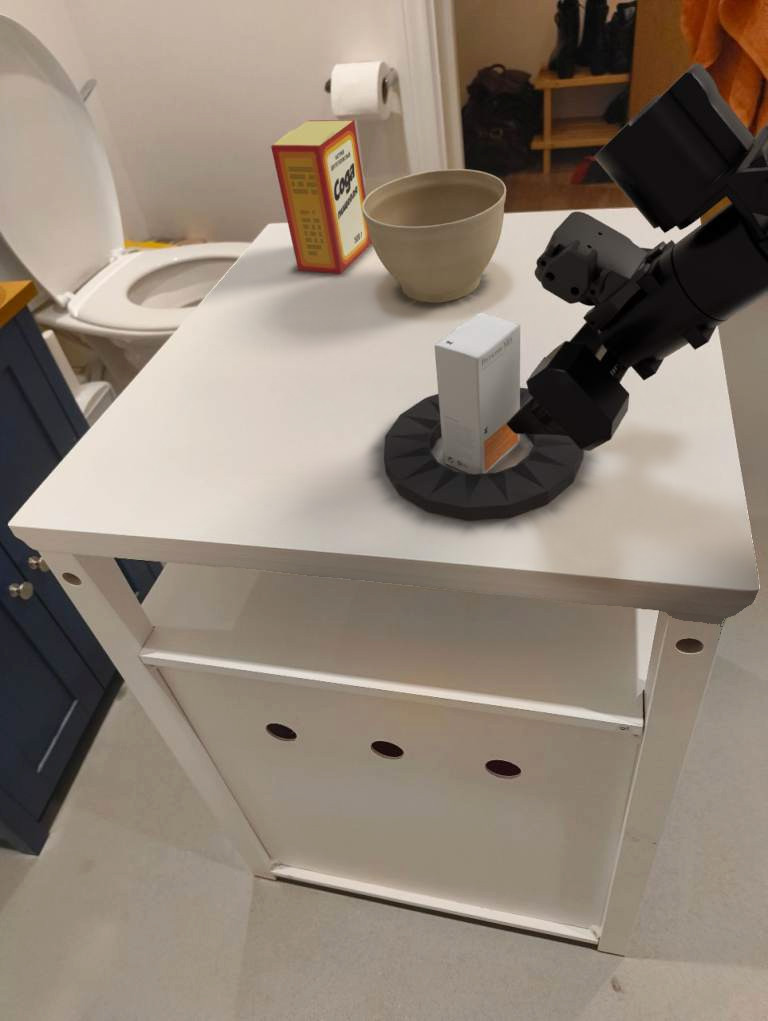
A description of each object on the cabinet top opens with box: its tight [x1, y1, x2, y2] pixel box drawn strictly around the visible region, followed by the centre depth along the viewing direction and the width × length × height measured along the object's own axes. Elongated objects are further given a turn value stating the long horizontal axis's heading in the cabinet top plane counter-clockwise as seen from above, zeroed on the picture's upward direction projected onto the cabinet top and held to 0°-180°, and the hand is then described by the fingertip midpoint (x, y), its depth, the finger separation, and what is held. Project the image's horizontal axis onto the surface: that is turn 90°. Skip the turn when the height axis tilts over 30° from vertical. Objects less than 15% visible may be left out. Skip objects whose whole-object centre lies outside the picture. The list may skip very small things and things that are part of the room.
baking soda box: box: [270, 119, 372, 275], centre depth 95 cm, size 10×6×16 cm
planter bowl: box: [362, 168, 507, 303], centre depth 86 cm, size 16×16×11 cm
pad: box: [383, 387, 585, 522], centre depth 65 cm, size 17×17×2 cm
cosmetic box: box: [434, 312, 521, 474], centre depth 61 cm, size 6×4×12 cm
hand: (535, 394), depth 58 cm, fingers open, 9 cm apart
